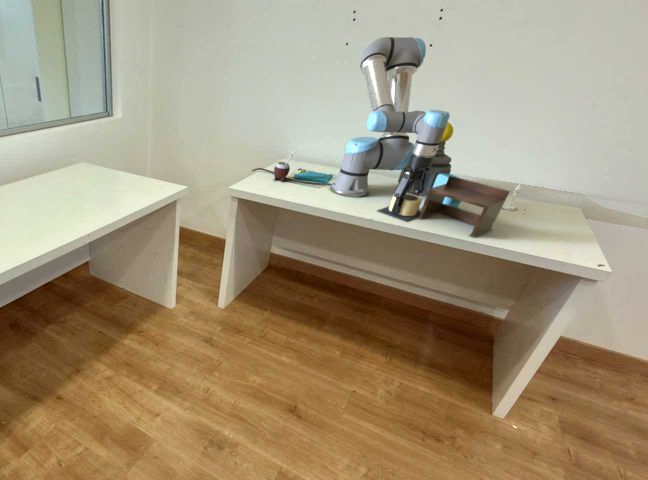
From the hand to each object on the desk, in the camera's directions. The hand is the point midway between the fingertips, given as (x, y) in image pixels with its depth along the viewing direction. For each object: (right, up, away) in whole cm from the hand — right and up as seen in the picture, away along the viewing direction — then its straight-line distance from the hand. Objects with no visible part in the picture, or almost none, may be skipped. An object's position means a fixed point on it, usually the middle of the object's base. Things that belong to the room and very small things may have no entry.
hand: (402, 210), depth 164 cm
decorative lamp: (+23, +14, +25) cm, 37 cm away
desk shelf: (+15, -6, -8) cm, 18 cm away
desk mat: (0, -1, +1) cm, 1 cm away
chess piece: (+48, +2, +6) cm, 49 cm away
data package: (+22, +4, +8) cm, 24 cm away
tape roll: (0, 0, 0) cm, 0 cm away
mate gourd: (-38, +21, +34) cm, 55 cm away
